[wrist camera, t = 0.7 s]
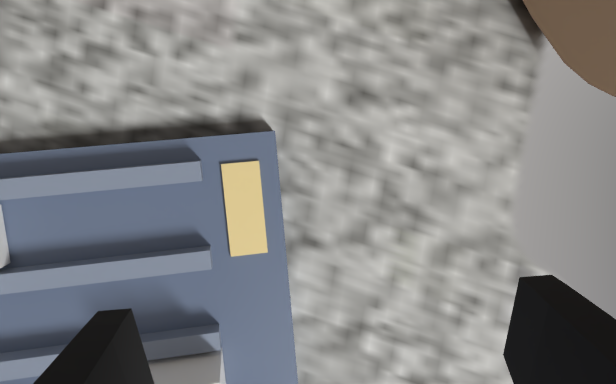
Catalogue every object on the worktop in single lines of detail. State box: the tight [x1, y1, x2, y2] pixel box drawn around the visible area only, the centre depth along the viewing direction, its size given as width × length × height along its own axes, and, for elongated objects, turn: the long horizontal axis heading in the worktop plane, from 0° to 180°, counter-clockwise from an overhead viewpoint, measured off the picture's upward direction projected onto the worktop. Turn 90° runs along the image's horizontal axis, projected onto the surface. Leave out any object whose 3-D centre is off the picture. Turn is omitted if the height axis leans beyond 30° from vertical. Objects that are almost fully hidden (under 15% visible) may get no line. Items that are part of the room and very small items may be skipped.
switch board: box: [0, 131, 298, 384], centre depth 26 cm, size 18×22×2 cm
